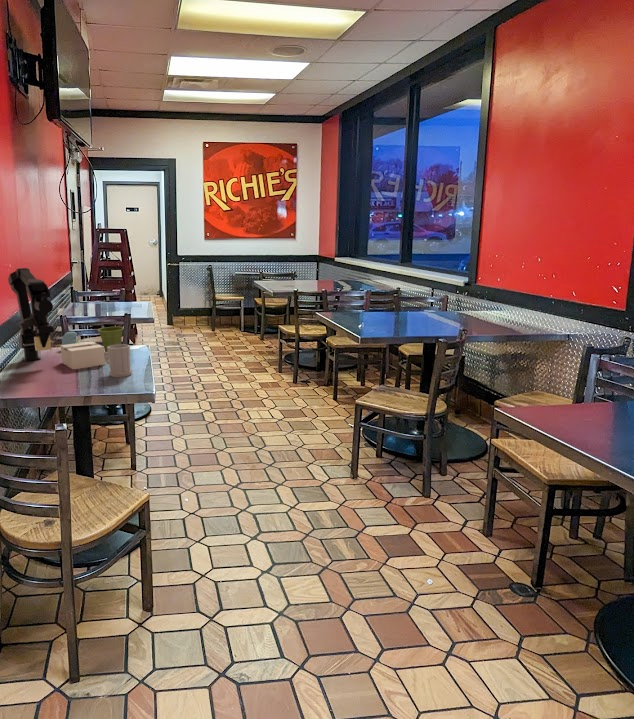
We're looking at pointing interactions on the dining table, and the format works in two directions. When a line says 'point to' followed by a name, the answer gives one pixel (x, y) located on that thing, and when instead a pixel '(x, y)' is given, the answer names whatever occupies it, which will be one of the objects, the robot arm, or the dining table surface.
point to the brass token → (39, 346)
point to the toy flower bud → (69, 338)
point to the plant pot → (110, 336)
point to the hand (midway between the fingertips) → (43, 346)
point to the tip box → (82, 355)
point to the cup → (118, 360)
